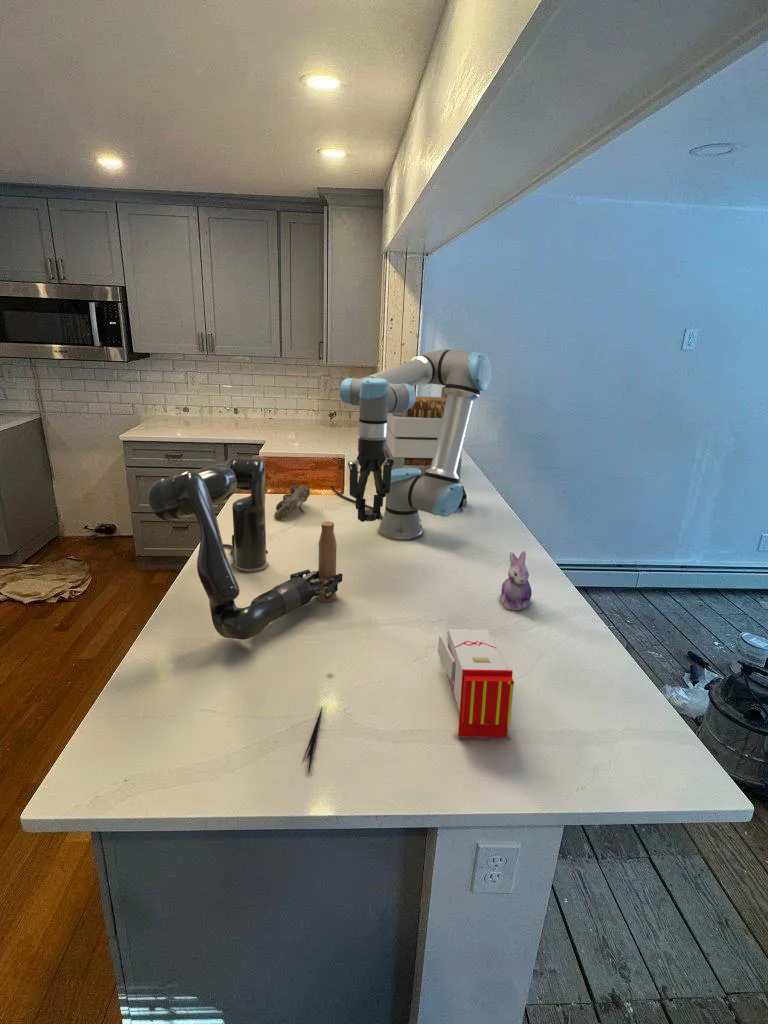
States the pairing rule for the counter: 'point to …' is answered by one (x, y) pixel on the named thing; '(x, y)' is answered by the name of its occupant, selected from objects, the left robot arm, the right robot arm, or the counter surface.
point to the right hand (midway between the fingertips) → (368, 518)
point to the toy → (478, 682)
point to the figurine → (516, 584)
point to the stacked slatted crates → (416, 433)
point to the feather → (313, 740)
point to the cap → (370, 515)
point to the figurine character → (463, 500)
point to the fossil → (292, 501)
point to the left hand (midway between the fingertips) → (333, 573)
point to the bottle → (327, 555)
